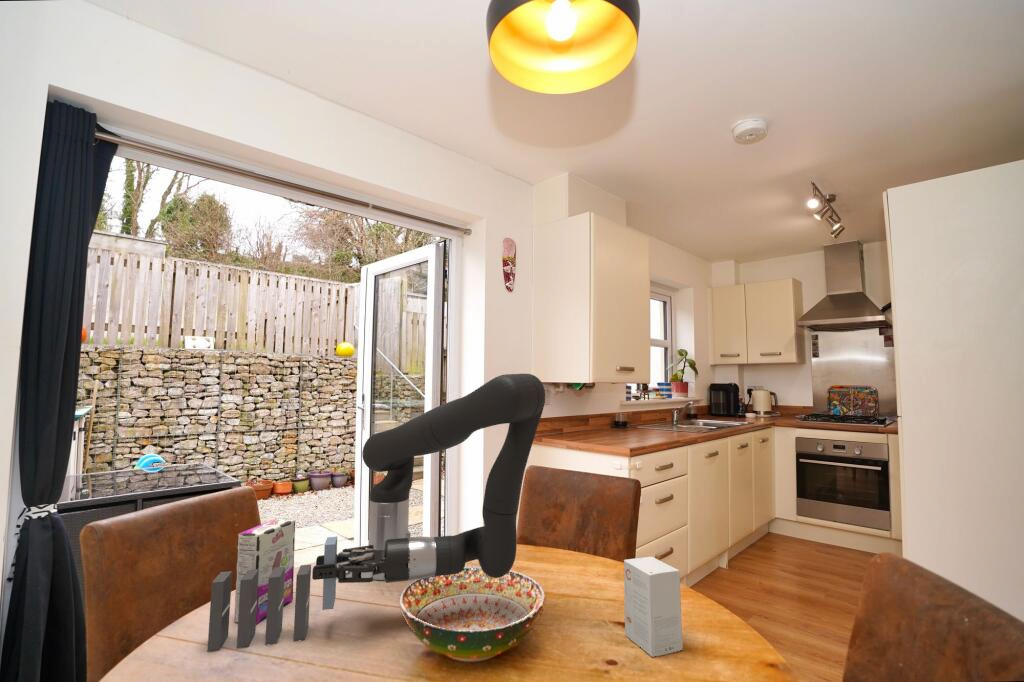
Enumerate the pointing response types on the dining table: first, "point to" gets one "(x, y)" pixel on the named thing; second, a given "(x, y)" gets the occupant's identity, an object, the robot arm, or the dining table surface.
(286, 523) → the candy bar box
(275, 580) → the black domino
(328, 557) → the slate domino
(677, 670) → the dining table surface
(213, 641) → the end domino
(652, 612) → the small box
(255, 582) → the black domino
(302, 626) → the black domino
